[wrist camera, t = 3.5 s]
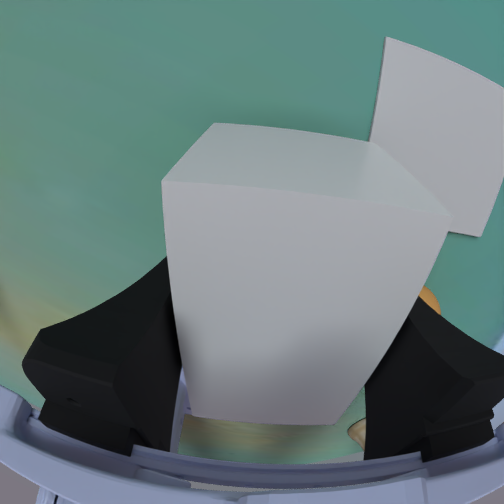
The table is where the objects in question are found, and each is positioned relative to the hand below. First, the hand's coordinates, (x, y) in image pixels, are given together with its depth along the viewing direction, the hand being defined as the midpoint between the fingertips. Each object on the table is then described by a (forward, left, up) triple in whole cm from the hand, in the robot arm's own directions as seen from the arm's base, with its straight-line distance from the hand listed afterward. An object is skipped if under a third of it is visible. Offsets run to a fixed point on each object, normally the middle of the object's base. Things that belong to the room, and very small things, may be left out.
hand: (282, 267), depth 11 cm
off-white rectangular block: (0, 0, -1) cm, 1 cm away
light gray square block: (+5, -7, -3) cm, 9 cm away
